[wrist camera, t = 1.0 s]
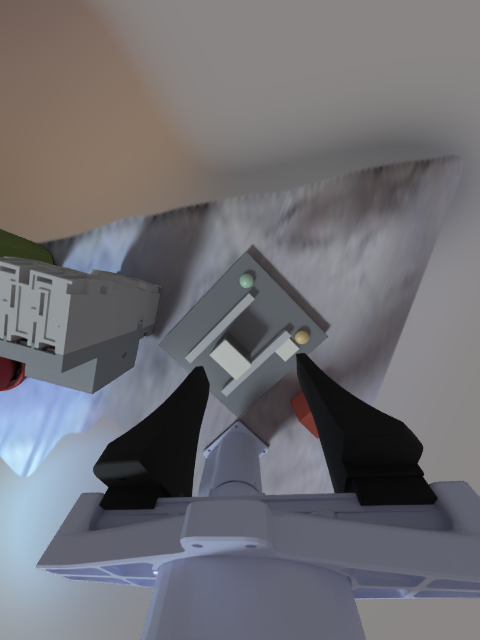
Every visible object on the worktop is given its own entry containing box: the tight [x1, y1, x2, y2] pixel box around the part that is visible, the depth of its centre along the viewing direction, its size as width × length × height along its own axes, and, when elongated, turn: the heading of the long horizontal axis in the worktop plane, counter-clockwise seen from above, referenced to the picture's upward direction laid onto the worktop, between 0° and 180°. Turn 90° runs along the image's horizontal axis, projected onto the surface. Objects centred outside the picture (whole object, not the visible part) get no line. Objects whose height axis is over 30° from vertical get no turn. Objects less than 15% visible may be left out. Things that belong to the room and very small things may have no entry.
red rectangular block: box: [291, 391, 319, 439], centre depth 28 cm, size 4×4×5 cm
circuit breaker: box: [0, 256, 162, 394], centre depth 22 cm, size 8×14×15 cm, turn 165°
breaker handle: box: [210, 332, 252, 380], centre depth 26 cm, size 3×5×4 cm, turn 45°
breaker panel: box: [159, 252, 328, 417], centre depth 28 cm, size 20×18×3 cm
